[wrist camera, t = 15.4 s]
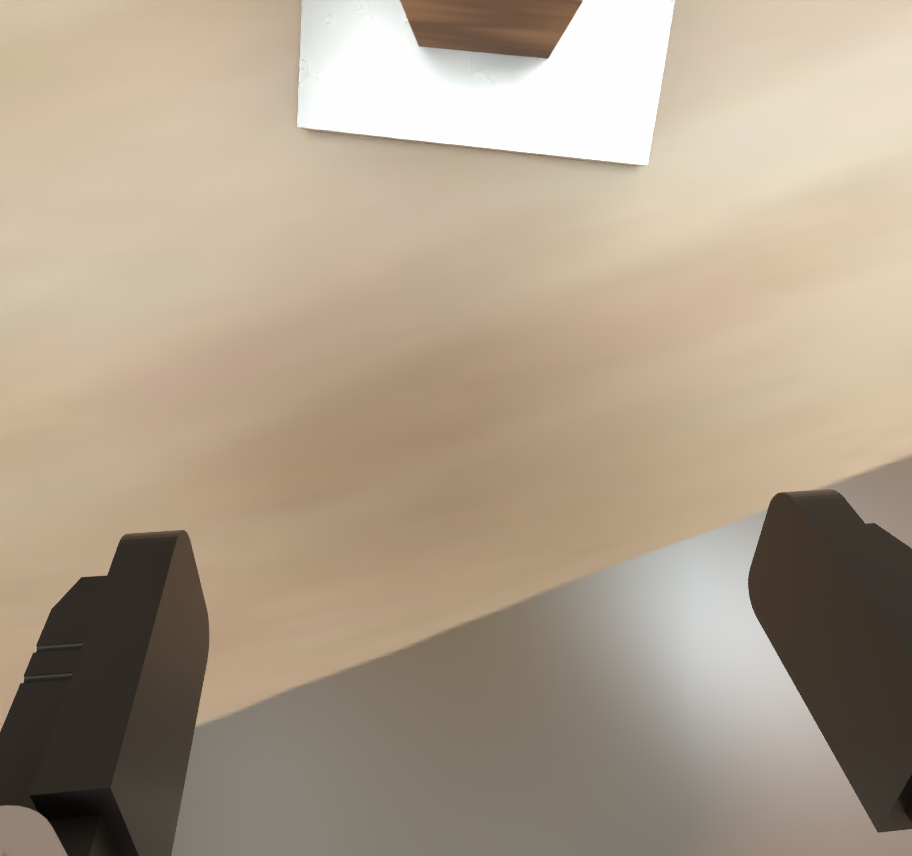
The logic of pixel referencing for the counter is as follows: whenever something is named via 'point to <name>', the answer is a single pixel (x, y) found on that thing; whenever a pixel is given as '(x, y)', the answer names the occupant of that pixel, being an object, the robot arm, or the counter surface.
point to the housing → (491, 24)
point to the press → (487, 82)
